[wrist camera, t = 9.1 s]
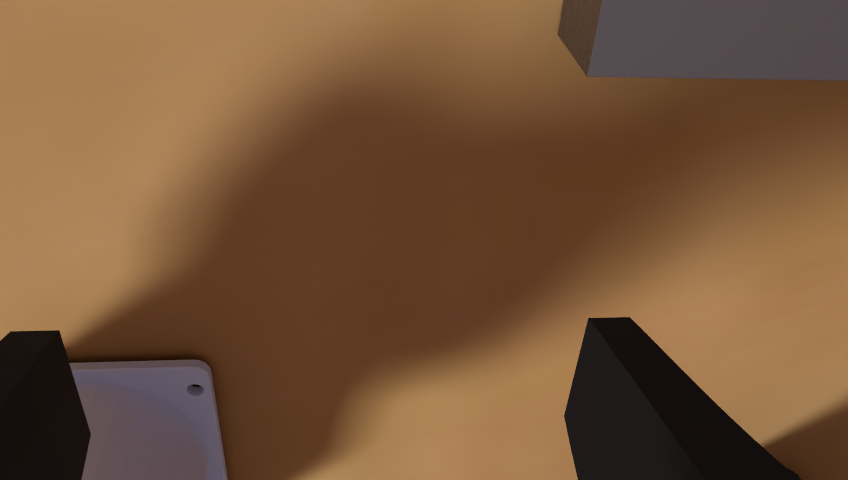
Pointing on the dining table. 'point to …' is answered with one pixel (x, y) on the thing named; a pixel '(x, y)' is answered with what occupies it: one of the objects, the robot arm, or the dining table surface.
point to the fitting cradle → (708, 38)
